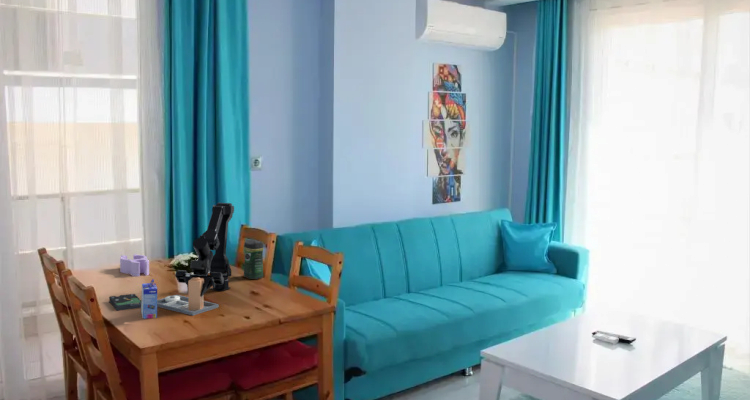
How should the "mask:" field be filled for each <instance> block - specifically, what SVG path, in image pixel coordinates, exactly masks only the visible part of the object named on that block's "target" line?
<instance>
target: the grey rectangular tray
mask: <svg viewBox="0 0 750 400" xmlns="http://www.w3.org/2000/svg"><path fill="white" fill-rule="evenodd" d="M219 306H220V304H219V303H215V302H211V301H206V300H204V307H203V308H202V309H200V310H196V311H195V310H188V296H184V295H180V294H174V295H167V296H165V297H163V298H160V299H157V308H160V309H166V310H169V311H173V312H178V313H182V314H185V315H188V316H196V315H198V314H202V313H204V312H208V311H211V310H215V309H217V308H219Z"/></svg>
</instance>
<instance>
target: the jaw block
mask: <svg viewBox="0 0 750 400" xmlns="http://www.w3.org/2000/svg"><path fill="white" fill-rule="evenodd" d="M203 284H204V278H200V277H193V278H192V279H190V280H189V281H188V289H187V295H188V296H187V297H188V310H195V311H196V310H200V309H202V308H203V307H204V301H205V300H204V299H205V298H204V295H205V294H204V295H203V296H202V297H201V296H200V294H201V290H202V287H203Z"/></svg>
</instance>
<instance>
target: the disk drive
mask: <svg viewBox="0 0 750 400" xmlns="http://www.w3.org/2000/svg"><path fill="white" fill-rule="evenodd" d="M108 298H109V299H108V300H109V301H108V302H109V303H110V305H112V306H113V308H114V309H115V311H124V310H134V309H141V299H140V297H138V296H137V295H136V294H135V293H130V294H121V295H118V296H117V295H111V296H109V297H108Z"/></svg>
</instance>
